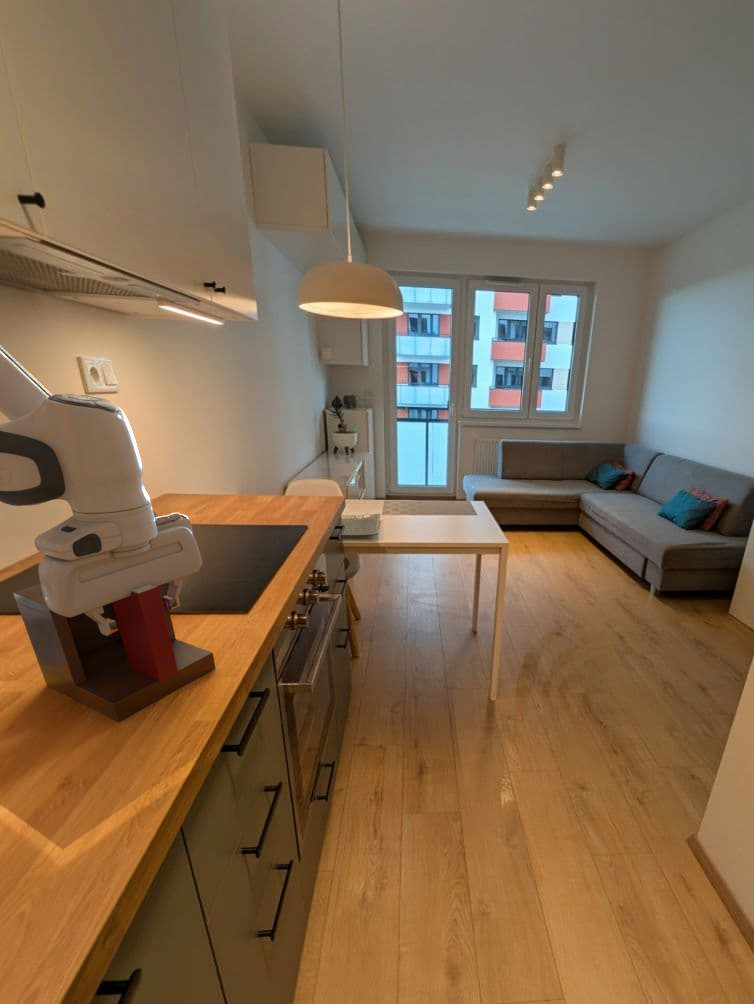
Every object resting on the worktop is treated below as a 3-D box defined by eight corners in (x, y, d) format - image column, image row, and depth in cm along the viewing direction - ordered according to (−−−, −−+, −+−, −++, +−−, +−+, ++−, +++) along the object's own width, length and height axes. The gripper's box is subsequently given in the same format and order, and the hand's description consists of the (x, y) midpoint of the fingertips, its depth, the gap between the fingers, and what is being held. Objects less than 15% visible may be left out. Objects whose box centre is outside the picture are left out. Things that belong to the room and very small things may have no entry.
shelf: (46, 685, 78) (12, 592, 71) (146, 641, 90) (125, 559, 84) (118, 722, 70) (88, 621, 64) (215, 668, 83) (198, 580, 77)
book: (130, 669, 77) (106, 583, 71) (148, 660, 79) (127, 576, 73) (160, 681, 74) (137, 593, 68) (178, 672, 76) (158, 585, 70)
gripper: (173, 506, 77) (191, 590, 83) (18, 543, 60) (54, 644, 66) (201, 512, 74) (218, 598, 80) (47, 552, 58) (82, 656, 64)
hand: (143, 619), depth 73 cm, fingers open, 8 cm apart
